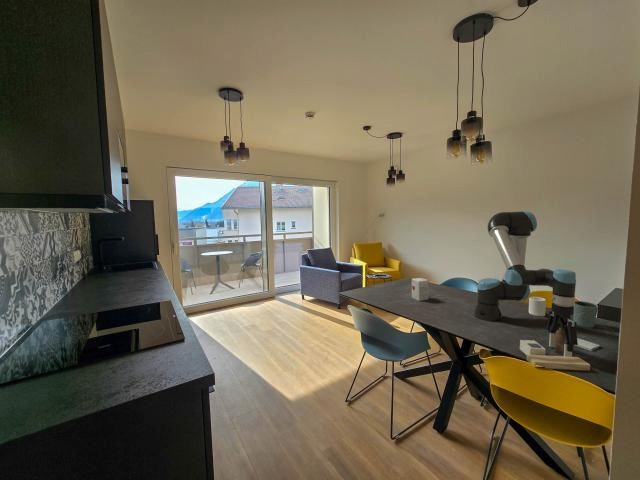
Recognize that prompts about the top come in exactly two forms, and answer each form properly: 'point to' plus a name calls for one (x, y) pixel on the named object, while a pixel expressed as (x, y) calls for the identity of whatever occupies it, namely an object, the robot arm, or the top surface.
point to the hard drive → (587, 345)
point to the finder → (531, 347)
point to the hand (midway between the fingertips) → (559, 351)
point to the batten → (559, 362)
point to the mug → (537, 306)
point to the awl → (560, 342)
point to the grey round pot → (585, 313)
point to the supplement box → (420, 289)
